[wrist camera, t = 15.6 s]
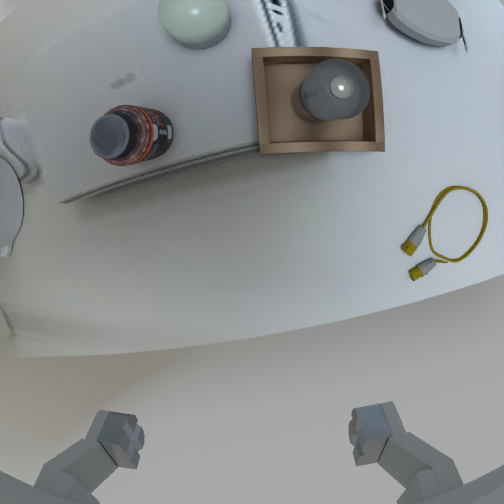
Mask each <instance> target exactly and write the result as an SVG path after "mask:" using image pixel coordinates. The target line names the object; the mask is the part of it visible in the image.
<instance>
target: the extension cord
mask: <svg viewBox="0 0 504 504" xmlns="http://www.w3.org/2000/svg"><path fill="white" fill-rule="evenodd" d="M456 189H464V190H468V191H471V192H473V193H474V194H476V195H477V196H478V197H479V199H480V200H481V202H482V205H483V212H484V215H483V225H482V229H481V232H480V235H479V237H478V239H477V240H476V242H475V243H474V244H473V245H472V246H471V248H470V249H469V250H468V251H467V252H466V253H465V254H464V255H462V256H461V257H460V258H456V259H448V258H446V257H443V256H441V255H439V254H438V253H436V252H435V251H434V249H433V247H432V243H431V218H432V215H433V213H434V211H435V210H436V208H437V207H438V205H439V204H440V202H441V201H442V199H443V198H444V197H445V196H446V195H447V194H448V193H449V192H451V191H453V190H456ZM447 190H448V191H447ZM445 191H446V192H445ZM444 192H445V193H444ZM443 193H444V194H443ZM442 194H443V195H442ZM441 195H442V197H441V198H440V199H439V197H440V196H441ZM438 199H439V201H438ZM437 201H438V202H437ZM436 202H437V204H436ZM485 210H486V211H485ZM485 216H486V221H485ZM428 221H429V223H428ZM487 222H488V210H487V206H486V203H485V201H484V199H483V198H482V197H481V195H480V194H479V193H477V192H476V191H475V190H473V189H470V188H467V187H460V186H450V187H448V188H446V189H444V190H443V191H442V192H441V193H440V194H439V195H438V196H437V198H436V199H435V201H434V203H433V206H432V208H431V212H430V215H429V217H428V218H427V220H426V222H425V223H424V225H423V226H421V225H419V227H418V228H417V229H416V230H415V231H414V232H413V233H412V234H411V235H410V237H409V238H408V240H407V241H406V243H405V244H404V245H403V246H402V250H403V251H404V252H406V253H407V254H408V255H410V256H412V254H413V253H414V252H415V250H416V249H417V247H418V246H419V245H420V243H421V241H422V239H423V237H424V234H425V232H426V229H425V226H426V225H427V223H428V236H429V244H430V248H431V250H432V252H433V253H434V254H435V255H436V256H438V257H440V258H442V259H445V260H447V261H450V262H459V261H461V260H463V259H464V258H466V257H467V256H468V255H469V254H470V253H471V252H472V251H473V250H474V249H475V248H476V246H477V245H478V243H479V242H480V240H481V238H482V236H483V234H484V232H485V229H486V226H487ZM436 263H448V262H446V261H441V260H435V261H434V259H433V258H432V259H430V260H427V261H425V262H422V263H420V264H419V265H417V266H416V268H414V269H413V270H411V271H410V272H409V273H410V274H411V275H410V277H411V279H412V280H413V281H415V280H417V279H418V278H420V277H423V276H424V275H427V273H428V272H429V271H430V270H431V269H432V268H433V267H434V266H436Z"/></svg>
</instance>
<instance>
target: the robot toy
mask: <svg viewBox="0 0 504 504" xmlns="http://www.w3.org/2000/svg"><path fill="white" fill-rule="evenodd" d="M379 1H380V3H381V8H382V14H383V15H382V16H383V19H385V18H386V14H387V17H388V19H389V21H390V22H391V23H392V24H393V25H394V26H395V27H396V28H397V29H399V30H400V31H402V32H403V33H405V34H407V35H408V36H410V37H412V38H414V39H416V40H418V41H420V42H422V43H426V44H430V45H435V46H441V47H445V46H448V45H451V44H453V43H456V42H458V40H459V39H460V38H463V41H464V45H465V50H466V51H467V52H468V50H469V49H468V47H467V44H466V40H465V37H464V34H463V32H464V30H463V28H462V24H461V20H460V18H459V17H458V12H457V11H456V10H455V8H454V7H453V6H452V5H451V3H449V2H448V1H447V0H379ZM385 13H386V14H385Z"/></svg>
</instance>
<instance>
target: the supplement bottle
mask: <svg viewBox="0 0 504 504" xmlns="http://www.w3.org/2000/svg"><path fill="white" fill-rule="evenodd" d="M172 138H173V128H172V124H171V122H170V120H169V119H168V118H167V117H166V116H165V115H164V114H163V113H161V112H160V111H157V110H153V109H147V108H142V107H137V106H131V105H121V106H117V107H114V108H113V109H111V110H109V111H108V112H107V113H105V114H104V116H102V117H100V118H99V119H98V120H97V121H96V122H95V123H94V125H93V127H92V129H91V133H90V143H91V147H92V149H93V151H94V152H95V153H96V154H97V155H98V156H99V157H101V158H103V159H104V160H105V161H107V162H108V163H110V164H112V165H116V166H126V165H131V164H135V163H139V162H142V161H146V160H150V159H154V158H156V157H158V156H160V155H162V154H163V153H164V152H165V151H166V150H167V149H168V148H169V146H170V144H171V142H172Z"/></svg>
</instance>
